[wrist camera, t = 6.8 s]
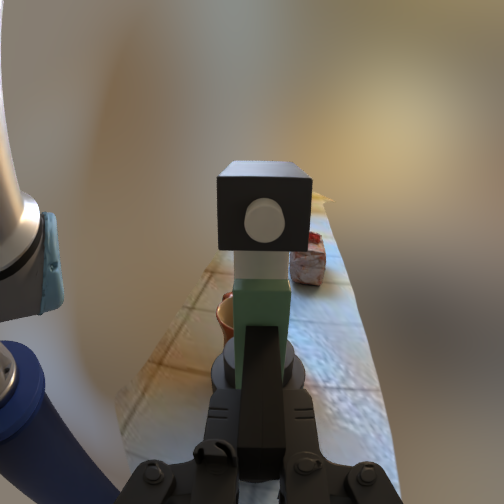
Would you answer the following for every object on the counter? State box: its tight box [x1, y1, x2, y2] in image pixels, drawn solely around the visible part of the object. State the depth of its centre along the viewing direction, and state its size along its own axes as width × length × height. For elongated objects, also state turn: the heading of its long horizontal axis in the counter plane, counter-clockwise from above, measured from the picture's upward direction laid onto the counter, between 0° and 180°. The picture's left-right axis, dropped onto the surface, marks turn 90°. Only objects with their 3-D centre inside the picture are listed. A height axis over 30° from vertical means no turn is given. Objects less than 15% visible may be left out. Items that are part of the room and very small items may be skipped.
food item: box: [289, 231, 326, 286], centre depth 66 cm, size 14×8×10 cm, turn 173°
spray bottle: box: [211, 161, 313, 483], centre depth 20 cm, size 10×7×28 cm
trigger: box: [233, 279, 291, 389], centre depth 15 cm, size 1×3×7 cm, turn 89°
